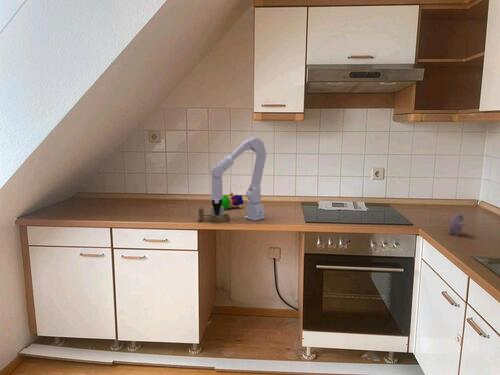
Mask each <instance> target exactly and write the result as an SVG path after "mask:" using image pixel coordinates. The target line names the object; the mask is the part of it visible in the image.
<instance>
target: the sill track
mask: <svg viewBox="0 0 500 375" xmlns="http://www.w3.org/2000/svg"><path fill="white" fill-rule="evenodd" d="M204 210H205V208H204V206H203V205H201V206H199V208H198V222H200V223H202V222H203V223H205V222H207V223H208V222H209V223H211V222H215V223H216V222H218V223H220V222H230V213H224V216H211V213H205V211H204Z"/></svg>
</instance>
